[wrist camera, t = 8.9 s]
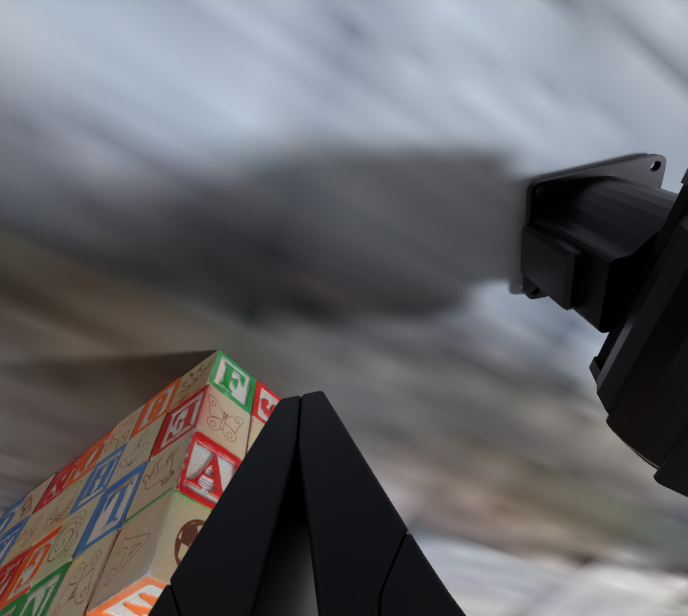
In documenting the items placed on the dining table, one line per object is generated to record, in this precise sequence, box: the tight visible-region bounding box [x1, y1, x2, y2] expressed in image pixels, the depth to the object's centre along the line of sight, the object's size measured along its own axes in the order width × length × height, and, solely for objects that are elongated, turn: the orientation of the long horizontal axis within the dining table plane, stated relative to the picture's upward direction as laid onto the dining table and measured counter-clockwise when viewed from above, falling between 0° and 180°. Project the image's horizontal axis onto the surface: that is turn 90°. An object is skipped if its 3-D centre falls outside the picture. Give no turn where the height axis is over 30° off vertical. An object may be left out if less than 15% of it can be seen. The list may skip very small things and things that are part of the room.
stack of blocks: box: [0, 350, 281, 616], centre depth 21 cm, size 21×6×12 cm, turn 128°
